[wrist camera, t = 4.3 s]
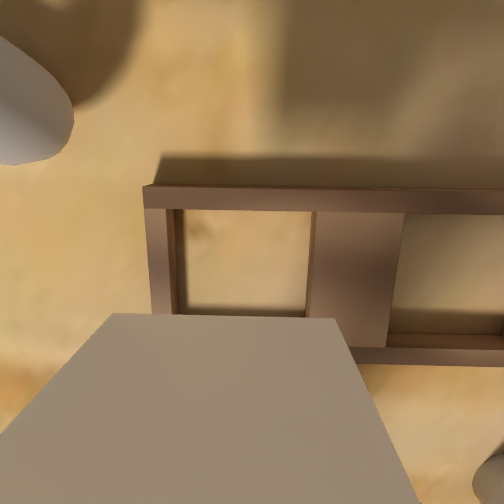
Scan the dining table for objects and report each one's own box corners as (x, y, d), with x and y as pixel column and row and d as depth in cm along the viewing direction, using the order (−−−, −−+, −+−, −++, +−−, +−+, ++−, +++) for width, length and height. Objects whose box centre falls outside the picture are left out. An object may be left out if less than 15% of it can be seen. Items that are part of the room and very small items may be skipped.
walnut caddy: (515, 351, 19) (536, 367, 17) (163, 343, 19) (155, 358, 17) (559, 190, 16) (588, 194, 15) (152, 183, 16) (142, 186, 15)
